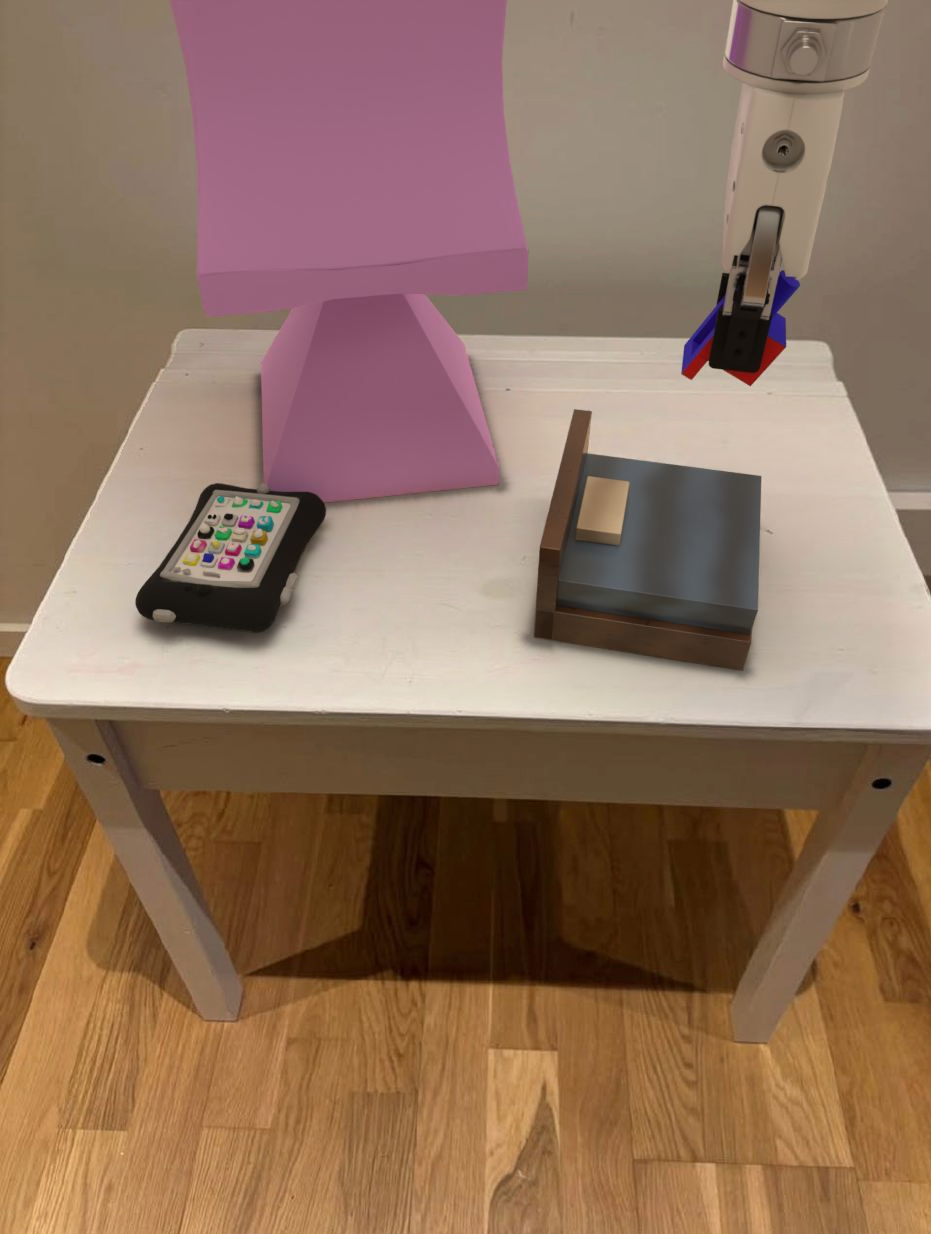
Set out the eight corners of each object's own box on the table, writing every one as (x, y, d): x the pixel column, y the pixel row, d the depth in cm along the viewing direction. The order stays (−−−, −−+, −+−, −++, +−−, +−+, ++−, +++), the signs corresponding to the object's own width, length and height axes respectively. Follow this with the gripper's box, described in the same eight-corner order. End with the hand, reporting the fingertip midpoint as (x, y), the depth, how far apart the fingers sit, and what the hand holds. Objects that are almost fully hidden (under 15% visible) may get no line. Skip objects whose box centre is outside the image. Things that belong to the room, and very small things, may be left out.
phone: (333, 517, 81) (327, 474, 78) (278, 654, 71) (268, 612, 68) (209, 503, 83) (198, 461, 79) (137, 636, 72) (121, 594, 69)
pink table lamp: (518, 493, 83) (547, -190, 50) (250, 521, 81) (97, -174, 48) (475, 349, 98) (476, -248, 66) (249, 370, 96) (131, -238, 63)
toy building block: (733, 405, 66) (817, 313, 60) (680, 373, 65) (760, 277, 59) (734, 375, 68) (815, 284, 62) (683, 345, 67) (761, 249, 61)
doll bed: (748, 523, 81) (773, 433, 74) (742, 670, 70) (771, 580, 63) (566, 498, 83) (574, 408, 76) (533, 637, 72) (539, 547, 66)
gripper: (886, 102, 45) (793, 432, 59) (868, -4, 56) (793, 294, 70) (719, 90, 46) (665, 416, 60) (733, -11, 57) (685, 283, 71)
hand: (735, 347), depth 65 cm, fingers closed on toy building block, 3 cm apart
